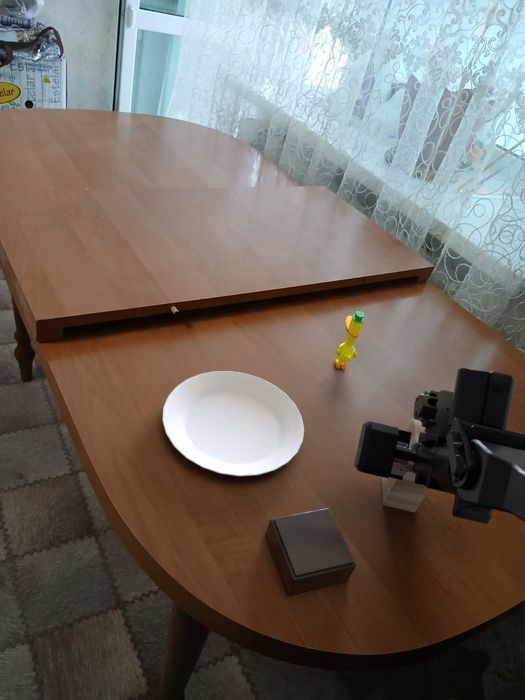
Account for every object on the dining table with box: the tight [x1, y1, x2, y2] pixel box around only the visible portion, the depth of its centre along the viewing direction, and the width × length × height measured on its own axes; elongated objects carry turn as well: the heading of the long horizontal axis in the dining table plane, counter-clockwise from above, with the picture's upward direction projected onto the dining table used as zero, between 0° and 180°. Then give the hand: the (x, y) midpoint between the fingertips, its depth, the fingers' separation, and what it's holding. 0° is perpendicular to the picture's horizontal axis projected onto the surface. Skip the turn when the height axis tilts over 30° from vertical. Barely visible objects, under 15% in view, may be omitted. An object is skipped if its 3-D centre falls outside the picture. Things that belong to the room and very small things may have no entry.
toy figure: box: [334, 310, 366, 370], centre depth 94 cm, size 7×4×12 cm, turn 1°
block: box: [381, 416, 431, 513], centre depth 73 cm, size 5×5×13 cm
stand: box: [264, 507, 357, 597], centre depth 65 cm, size 8×8×4 cm
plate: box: [161, 370, 305, 477], centre depth 80 cm, size 21×21×2 cm
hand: (413, 458), depth 74 cm, fingers closed on block, 4 cm apart
